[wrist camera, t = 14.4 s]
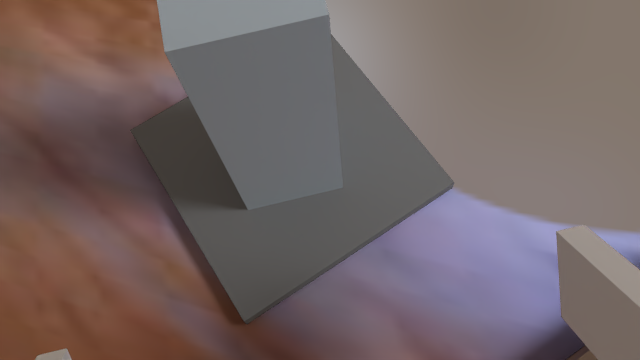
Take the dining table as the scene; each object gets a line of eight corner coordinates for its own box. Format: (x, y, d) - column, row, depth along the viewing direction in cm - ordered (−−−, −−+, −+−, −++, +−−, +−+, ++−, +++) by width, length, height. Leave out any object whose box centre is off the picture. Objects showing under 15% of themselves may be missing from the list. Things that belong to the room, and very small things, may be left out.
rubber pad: (320, 28, 28) (319, 20, 27) (452, 187, 24) (454, 182, 24) (135, 136, 26) (130, 130, 26) (246, 324, 23) (244, 321, 22)
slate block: (321, 105, 26) (294, -104, 16) (343, 187, 24) (329, 14, 14) (232, 126, 26) (146, -71, 15) (248, 210, 24) (164, 51, 14)
